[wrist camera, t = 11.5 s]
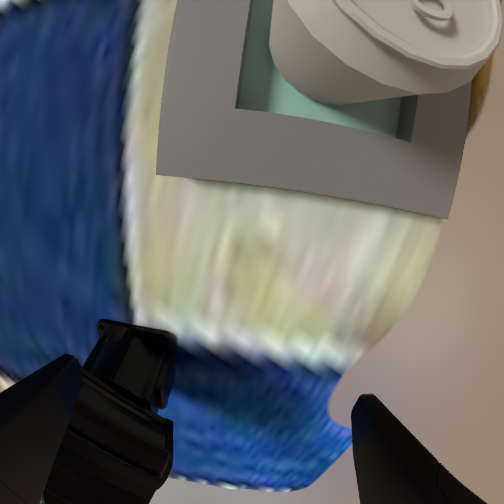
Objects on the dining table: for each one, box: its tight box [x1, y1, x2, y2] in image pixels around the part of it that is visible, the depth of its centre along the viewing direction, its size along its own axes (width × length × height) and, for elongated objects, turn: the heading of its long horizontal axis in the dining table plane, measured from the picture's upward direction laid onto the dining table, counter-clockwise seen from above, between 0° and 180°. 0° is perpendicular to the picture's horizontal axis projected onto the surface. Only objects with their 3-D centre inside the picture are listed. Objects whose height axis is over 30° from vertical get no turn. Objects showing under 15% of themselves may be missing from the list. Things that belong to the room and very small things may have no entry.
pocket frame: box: [156, 0, 472, 219], centre depth 14 cm, size 18×18×2 cm
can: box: [269, 0, 503, 105], centre depth 9 cm, size 8×8×12 cm
